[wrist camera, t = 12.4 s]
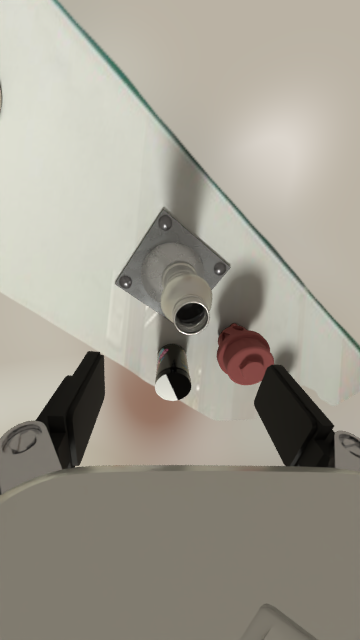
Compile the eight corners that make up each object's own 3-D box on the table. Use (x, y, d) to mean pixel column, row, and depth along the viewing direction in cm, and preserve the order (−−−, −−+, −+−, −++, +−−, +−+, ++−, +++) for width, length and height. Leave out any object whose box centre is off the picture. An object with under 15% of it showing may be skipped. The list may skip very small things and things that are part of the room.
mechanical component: (207, 353, 47) (213, 314, 42) (247, 355, 47) (257, 317, 43) (219, 392, 35) (230, 344, 31) (273, 393, 36) (289, 347, 32)
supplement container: (170, 337, 44) (171, 366, 35) (192, 353, 46) (198, 385, 37) (151, 356, 46) (147, 389, 36) (173, 371, 48) (175, 406, 39)
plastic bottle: (155, 282, 38) (145, 330, 20) (173, 251, 36) (182, 272, 17) (183, 299, 40) (199, 357, 21) (202, 269, 37) (237, 306, 19)
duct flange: (115, 283, 38) (114, 284, 37) (163, 209, 34) (163, 208, 33) (180, 326, 43) (180, 328, 42) (230, 267, 38) (231, 267, 38)
